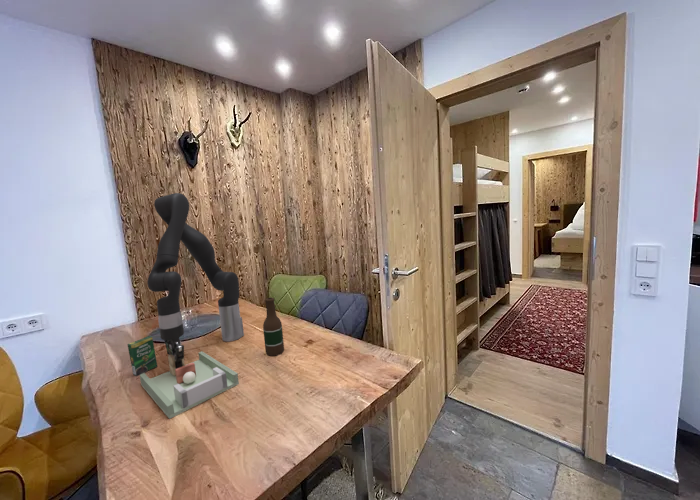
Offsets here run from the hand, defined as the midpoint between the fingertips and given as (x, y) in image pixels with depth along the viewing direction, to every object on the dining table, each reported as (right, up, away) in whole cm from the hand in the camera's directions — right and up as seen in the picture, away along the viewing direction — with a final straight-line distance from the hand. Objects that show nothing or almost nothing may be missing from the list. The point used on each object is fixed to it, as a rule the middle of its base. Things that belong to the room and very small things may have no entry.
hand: (177, 367), depth 111 cm
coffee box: (-16, -4, +5) cm, 17 cm away
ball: (+9, -1, -8) cm, 12 cm away
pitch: (+8, -4, -7) cm, 11 cm away
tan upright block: (+3, -2, -2) cm, 4 cm away
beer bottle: (+34, 0, +15) cm, 37 cm away
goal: (+17, -4, -14) cm, 22 cm away
